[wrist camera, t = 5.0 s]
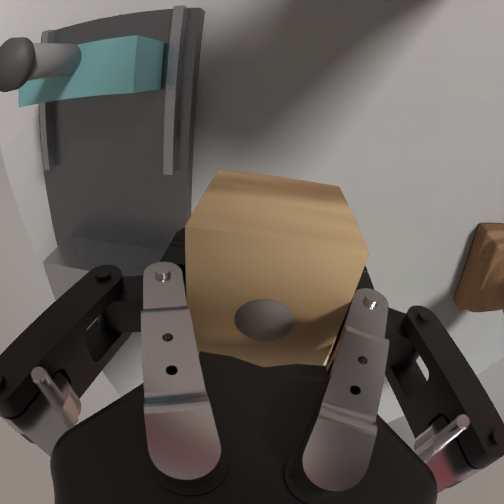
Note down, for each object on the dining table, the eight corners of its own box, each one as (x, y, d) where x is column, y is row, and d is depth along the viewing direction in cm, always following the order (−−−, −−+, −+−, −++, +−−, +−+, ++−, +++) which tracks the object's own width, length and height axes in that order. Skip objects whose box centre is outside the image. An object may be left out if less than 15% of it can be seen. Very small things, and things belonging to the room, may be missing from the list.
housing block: (218, 169, 12) (183, 228, 8) (339, 186, 12) (370, 253, 8) (212, 284, 15) (189, 364, 11) (310, 297, 15) (316, 380, 11)
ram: (56, 51, 18) (-37, 62, 9) (164, 35, 18) (84, 13, 9) (54, 98, 21) (-37, 126, 11) (160, 89, 20) (79, 103, 11)
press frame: (51, 34, 18) (6, 35, 13) (204, 11, 18) (181, -9, 13) (71, 270, 33) (45, 303, 28) (191, 291, 33) (176, 334, 28)
